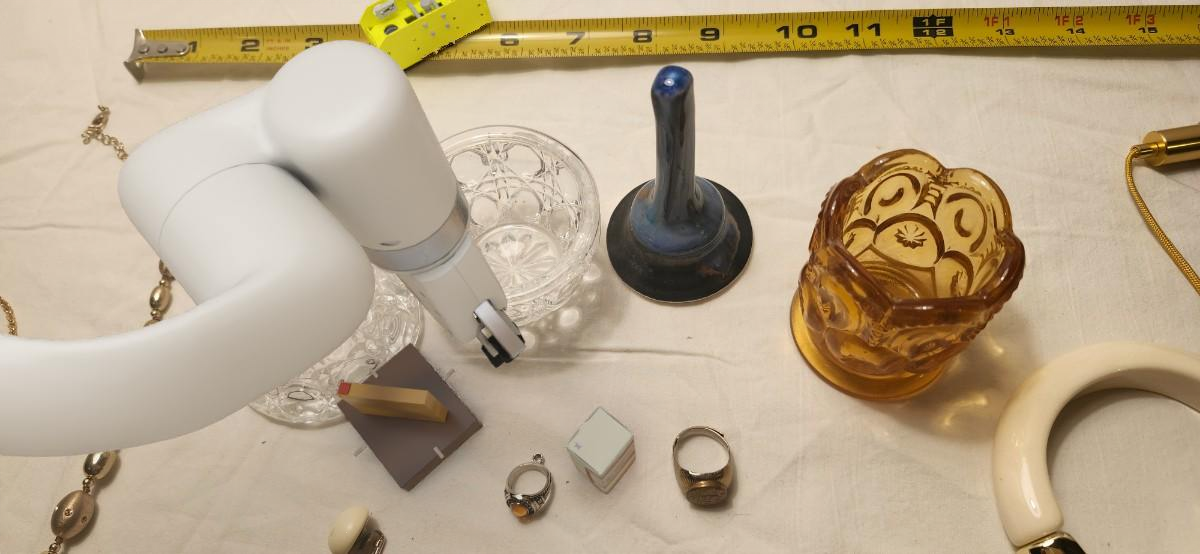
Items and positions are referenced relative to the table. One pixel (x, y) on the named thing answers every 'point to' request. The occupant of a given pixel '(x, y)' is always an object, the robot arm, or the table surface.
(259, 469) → the table surface
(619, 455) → the pale grey box
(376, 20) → the yellow toy chassis
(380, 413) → the yellow angled block
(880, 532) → the table surface
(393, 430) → the stand
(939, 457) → the table surface
